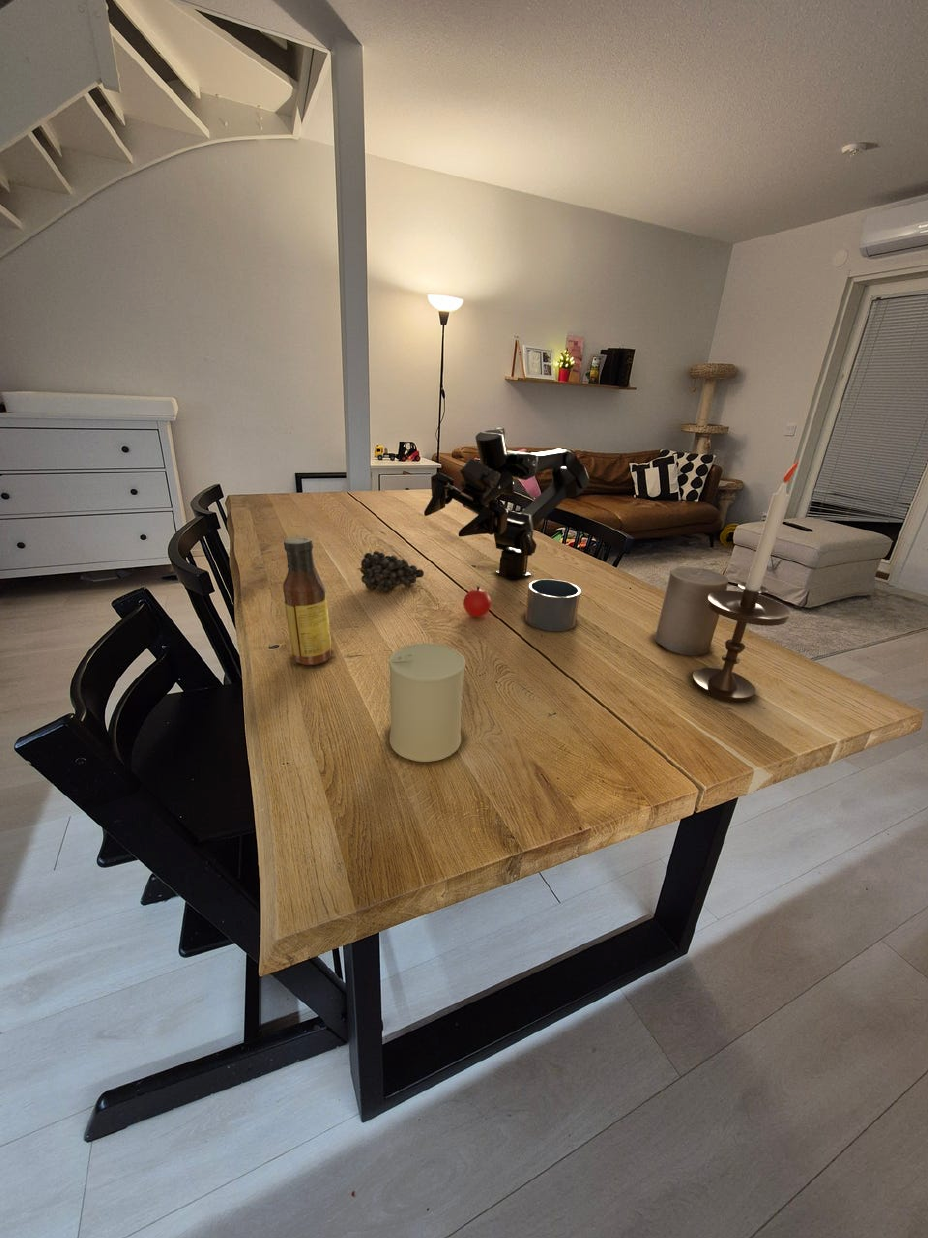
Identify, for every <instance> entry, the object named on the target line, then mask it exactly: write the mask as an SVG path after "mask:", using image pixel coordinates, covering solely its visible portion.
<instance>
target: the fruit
mask: <svg viewBox="0 0 928 1238" xmlns="http://www.w3.org/2000/svg"><path fill="white" fill-rule="evenodd" d="M360 566H361V567H359V568H356V570H359V571H360V572H361V574H362V576H361V579H360V580H361V582H362V583H363V584H364V585H365V588H366V589H367V590H371V591H372V590H376V589H377V588H378V589H379V591H380V592H381V593H387V592H388V591H389V590H392V589H393V588H394V587H395V586H396V587H397V586H399V585H404V586H405V588H406V587H410V586H411V584H412V585H413V584H415V583H416V581H417V578H422V577H424V575H425V573H424V572H425V571H424V570H423V569H420V568H418V567H417V566H416V565H415V564H412V565H409V563H408V561H407V560H406V559H398V557H397V556H396V555H391V556H390V555H385V553H384V552H380V551H379V550H375V551H373V553H371V552H366V553H365V554H364V555H363V558H362V560H361V563H360Z"/></svg>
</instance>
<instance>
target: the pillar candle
mask: <svg viewBox="0 0 928 1238" xmlns="http://www.w3.org/2000/svg"><path fill="white" fill-rule="evenodd" d="M728 586H729V578H728V577H727V576H726V575H724V574H722V573H720V572H719V571H715V570H713V569H708V568H704V567H699V566H688V565H687V566H685V565H683V566H676V567H671V568H670V569H669V576H668V579H667V584H666V589H665V593H664V597H663V601H662V605H661V608H660V609H661V610H660V614H659V619H658V622H657V626H656V627H657V628H656V631H655V636H654V641H655V642H656V643H657V644H658V645H660V646H662V647H663V648H665V649H666V650H668V651H670V652H672V653H676V654H679V655H685V656H702V655H705V654H707V653H709V652H710V648H711V645H712V641H713V638H714V635H715V631H716V628H717V626H718V625H717V624H718V621H719V618H720V616H721V615H720V614H718V613H716V612H714V611H712V610H711V609H710V608H709V607H708V606H707V599H708V596H709V594H710V593H712V592H715V591H727V589H728Z"/></svg>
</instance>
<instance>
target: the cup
mask: <svg viewBox="0 0 928 1238" xmlns="http://www.w3.org/2000/svg"><path fill="white" fill-rule="evenodd" d="M527 588H528V589H527V596H526V607H525V618H524V619H525V621H526V623H527V624H529V625H530V626H532V627H534V628H536V629H540V630H543V631H548V632H549V631H550V632H565V631H570V630H572V629H574V627H575V626H576V624H577V617H578V611H579V605H580V598H581V592H582V590H581V588H580V587H579V586H578V585H576V584H575V583H572V582H569V581H565V580H561V579H554V578H552V579H551V578H543V579H536V580H533V581H531V582H529V584H528V587H527Z"/></svg>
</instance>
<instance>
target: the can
mask: <svg viewBox="0 0 928 1238" xmlns="http://www.w3.org/2000/svg"><path fill="white" fill-rule="evenodd" d="M465 666H466V660H465V657H464V656H463V654H462V653H460V652H459V650H457V649H455V648H454V647H453V648H452V647H451V646H448V645H444V644H440V643H432V642H431V643H430V642H421V643H414V644H409V645H405V646H403V647H400V648H398V649H397V650H395V651H394V652H393V653H392V654H391V655H390V657H389V659H388V667H389V695H390V696H389V697H390V698H389V699H390V700H389V701H390V704H389V705H390V733H389V738H388V739H389V740H388V741H389V745H390V747H391V748H392V750H393V751H394V752H395V753H396V754H398V756H400V757H402V758H404V759H406V760H410V761H412V762H413V761H414V762H419V763H431V762H437V761H441V760H443V759H446V758H448V757H450V756H452V755H453V754H454V753H456V752H457V750H459V748H460V745H461V743H462V730H461V729H462V728H461V727H462V726H461V725H462V709H463V708H462V706H463V694H464V693H463V691H464V677H465V668H466V667H465Z"/></svg>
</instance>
